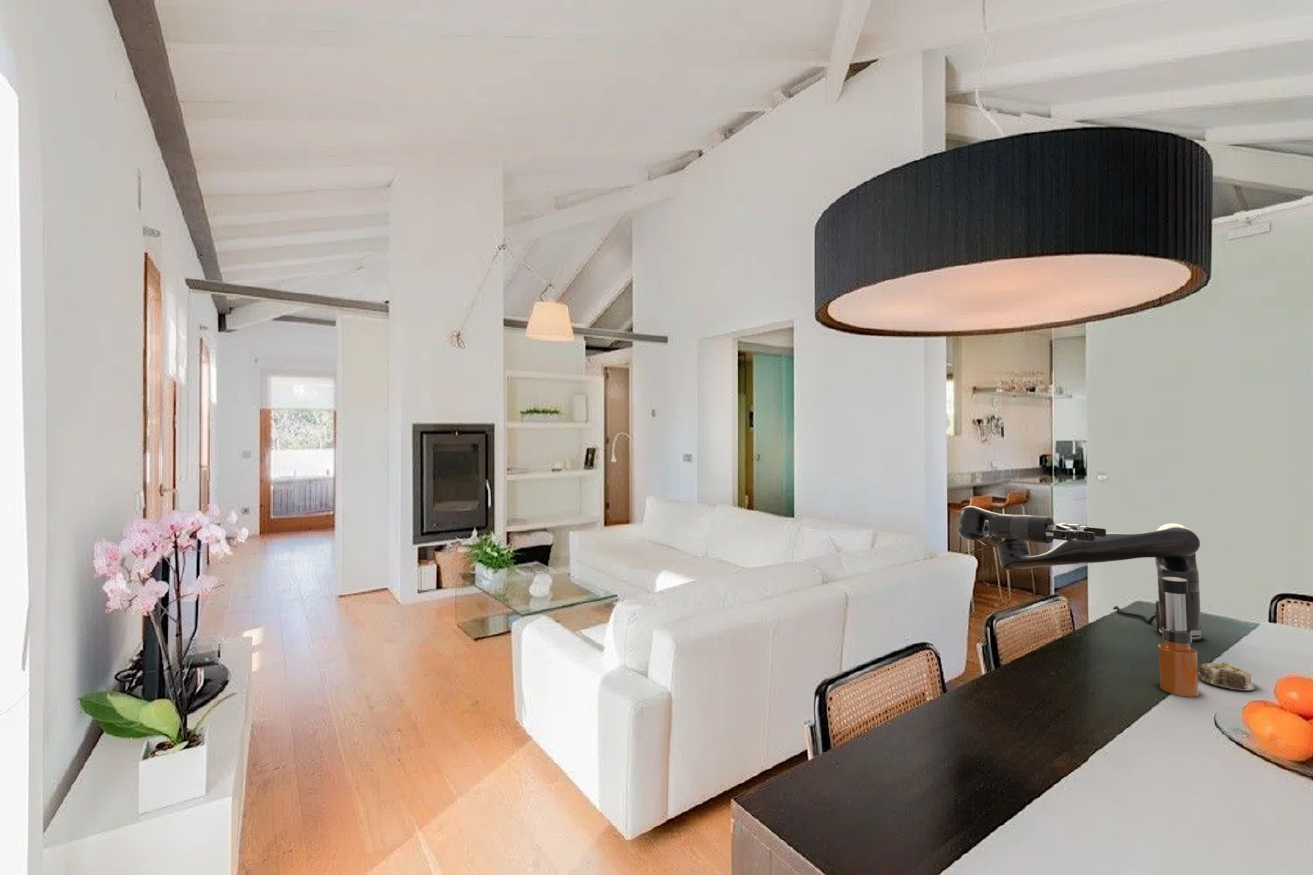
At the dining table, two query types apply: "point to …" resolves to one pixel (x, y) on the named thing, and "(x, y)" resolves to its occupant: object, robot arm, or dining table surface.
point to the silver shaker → (1175, 603)
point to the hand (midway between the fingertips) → (1100, 534)
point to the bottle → (1178, 664)
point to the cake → (1226, 676)
